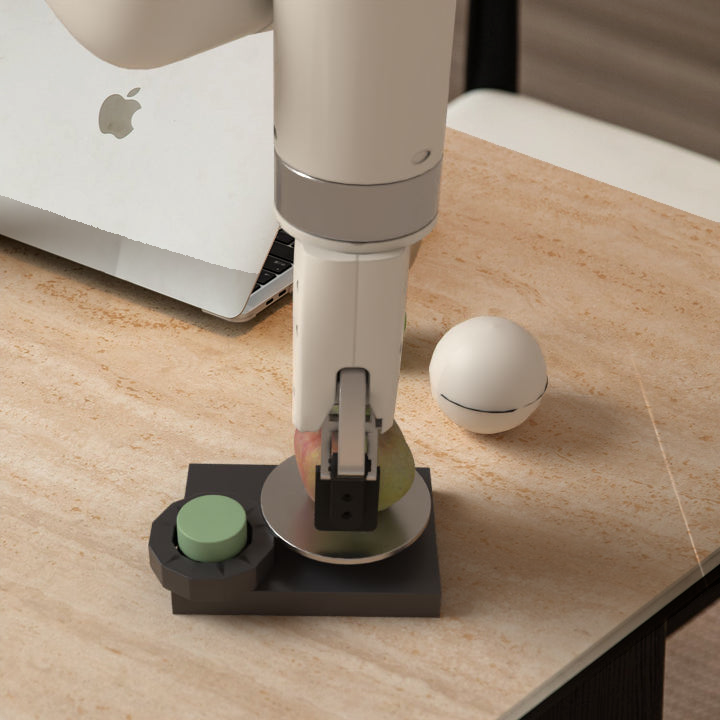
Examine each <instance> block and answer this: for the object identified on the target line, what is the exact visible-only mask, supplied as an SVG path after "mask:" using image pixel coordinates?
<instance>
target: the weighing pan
mask: <svg viewBox="0 0 720 720" xmlns="http://www.w3.org/2000/svg"><path fill="white" fill-rule="evenodd" d="M277 465H278V466H277V467H276V468H275V469H274V470H273V471H272V472H271V473H270V475H269V476H268V478H267V479H266V481H265V483H264V486H263V488H262V492H261V512H262V517H263V519H264V522H265V524H266V526H267V527H268V529H269V530H270V532H271V533H272V534H273V535H274V536H275V538H276V539H277V540H279V541H280V542H281V543H282V544H283V545H285V546H286V547H288V548H289V549H291V550H292V551H294V552H296V553H298V554H300V555H302V556H305V557H308V558H310V559H314V560H317V561H321V562H326V563H333V564H346V565H347V564H363V563H370V562H374V561H379V560H382V559H385V558H388V557H391V556H393V555H395V554H397V553H399V552H401V551H403V550H404V549H406V548H407V547H409V546H410V545H411V544H412V543H413V542H415V541H416V540H417V538H418V537H419V536H420V535H421V534H422V532H423V531H424V529H425V528H426V525H427V523H428V521H429V517H430V511H431V498H430V493H429V490H428V488H427V485H426V483H425V482H424V480H423V478H422V477H421V476H420V475H419V473H418V472H417V471H416V470H415V478H414V482H413V484H412V486H411V488H410V489H409V491H408V492H407V493H406V495H405V496H404V497H403V498H401V499H400V500H399V501H398V502H396V503H394V504H393V505H392V506H390V507H388V508H387V509H385V510H382V511H378V519H377V528H376V529H375V530H374V531H371V532H356V531H319V530H317V529H316V528H315V526H314V515H315V502H314V501H313V500H312V499H311V498H310V496H309V495H308V493H307V491H306V489H305V486H304V484H303V481H302V478H301V475H300V472H299V468H298V465H297V461H296V457H295V454H293V455H290V456H288V457H287V458H286V459H285V460H283V461H282V462H280V463H279V464H277Z"/></svg>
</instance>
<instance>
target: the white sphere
mask: <svg viewBox="0 0 720 720" xmlns="http://www.w3.org/2000/svg"><path fill="white" fill-rule="evenodd" d="M428 373H429V383H430V393H431V395H432V397H433V400H434V401H435V402H436V405H437V407H439V409H440V411H441V412H442V414H443V415H444V416H445V417H446V418H447V419H448V420H450V421H451V422H452V423H453V424H456V425H457V426H458V427H460V428H462V429H464V430H467V431H469V432H470V433H471V432H472V433H476V434H481V435H493V434H497V433H503V432H506V431H510V430H512V429H514V428H516V427H518V426H521V425H522V424H523V423H524V422H525V421H526V420H527V419H528V418H529V417H530V416H531V415H533V413H534V412H535V411H536V409H538V408H539V406H540V404H541V401H542V398H543V396H544V394H545V393H546V390H547V388H548V384H549V377H548V369H547V363H546V359H545V355H544V353H543V351H542V349H541V347H540V345H539V342H538V341H537V339H535V337H534V336H533V335H532V334H531V333H530V332H529V331H528V330H526V329H525V328H524V327H523V326H521V325H520V324H519V323H517V322H516V321H513V320H511V319H508V318H507V317H503V316H502V317H501V316H497V315H480V316H476V317H475V316H473V317H471V318H469V319H467V320H464V321H462V322H460V323H458V324H456V325H454V326H453V327H451V328H450V329H449V330H448V331H447V332H445V334H444V335H443V336H442V338H441V339H440V340H439V341H438V342H437V344H436V346H435V348H434V351H433V353H432V356H431V360H430V363H429V367H428ZM549 392H550V393H556V394H563V395H565V394H566V395H573V396H580V397H592V395H591V394H581V393H573V392H565V391H558V390H557V391H556V390H551V389H550V390H549Z"/></svg>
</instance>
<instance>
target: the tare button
mask: <svg viewBox="0 0 720 720" xmlns="http://www.w3.org/2000/svg"><path fill="white" fill-rule="evenodd" d="M177 533H178V544H179V547H180V549H181V550H182V552H183V553H184V554H185V555H186V556H188V557H189V558H191V559H193V560H195V561H198V562H202V563H219V562H224V561H226V560H229V559H231V558H233V557H235V556H236V555H238V554H239V553H240V552H241V551H242V549H243V548H244V546H245V544H246V541H247V517H246V512H245V510H244V509H243V507H242V506H241V505H240V504H239V503H238V502H237V501H235V500H233V499H231V498H229V497H226V496H221V495H206V496H201V497H198V498H195V499H193V500H191V501H189V502H188V503H186V504H185V505H184V506H183V507H182V508H181V510H180V511H179V513H178V516H177Z"/></svg>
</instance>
